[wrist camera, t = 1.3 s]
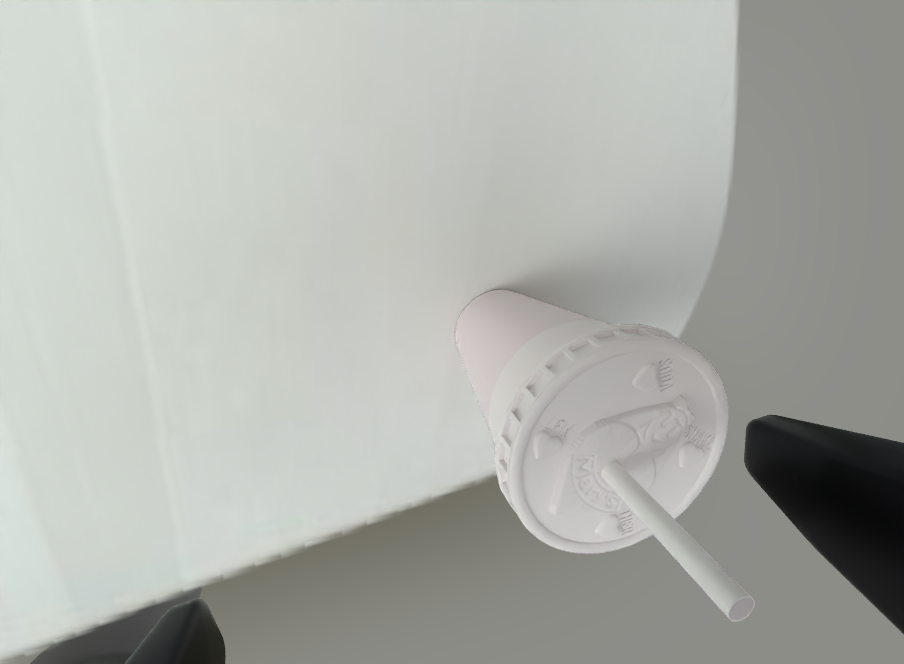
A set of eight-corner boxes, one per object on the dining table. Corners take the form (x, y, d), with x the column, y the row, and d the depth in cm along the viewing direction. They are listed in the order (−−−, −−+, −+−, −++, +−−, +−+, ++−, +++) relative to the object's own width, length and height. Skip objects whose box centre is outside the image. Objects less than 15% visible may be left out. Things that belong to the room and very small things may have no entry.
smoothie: (392, 322, 20) (533, 611, 8) (518, 224, 20) (872, 347, 8) (477, 425, 23) (688, 769, 10) (589, 339, 23) (939, 573, 10)
